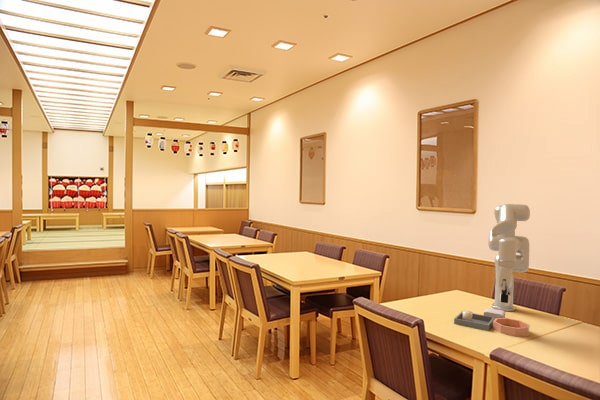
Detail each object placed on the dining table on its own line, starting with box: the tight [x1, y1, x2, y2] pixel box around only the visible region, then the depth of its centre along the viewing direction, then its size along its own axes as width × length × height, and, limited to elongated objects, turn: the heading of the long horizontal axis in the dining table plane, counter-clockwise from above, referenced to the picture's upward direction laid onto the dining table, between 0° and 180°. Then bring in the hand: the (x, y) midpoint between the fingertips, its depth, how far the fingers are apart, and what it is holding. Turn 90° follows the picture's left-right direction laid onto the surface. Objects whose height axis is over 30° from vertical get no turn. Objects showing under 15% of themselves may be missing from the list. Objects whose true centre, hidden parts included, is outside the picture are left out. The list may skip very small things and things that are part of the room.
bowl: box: [492, 317, 530, 337], centre depth 195 cm, size 15×15×4 cm
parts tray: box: [453, 310, 495, 332], centre depth 204 cm, size 16×16×3 cm
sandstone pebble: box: [462, 310, 473, 322], centre depth 206 cm, size 5×5×5 cm
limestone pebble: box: [500, 294, 511, 306], centre depth 196 cm, size 5×5×5 cm
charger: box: [483, 307, 506, 318], centre depth 215 cm, size 5×9×15 cm
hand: (505, 301), depth 196 cm, fingers closed on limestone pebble, 4 cm apart
